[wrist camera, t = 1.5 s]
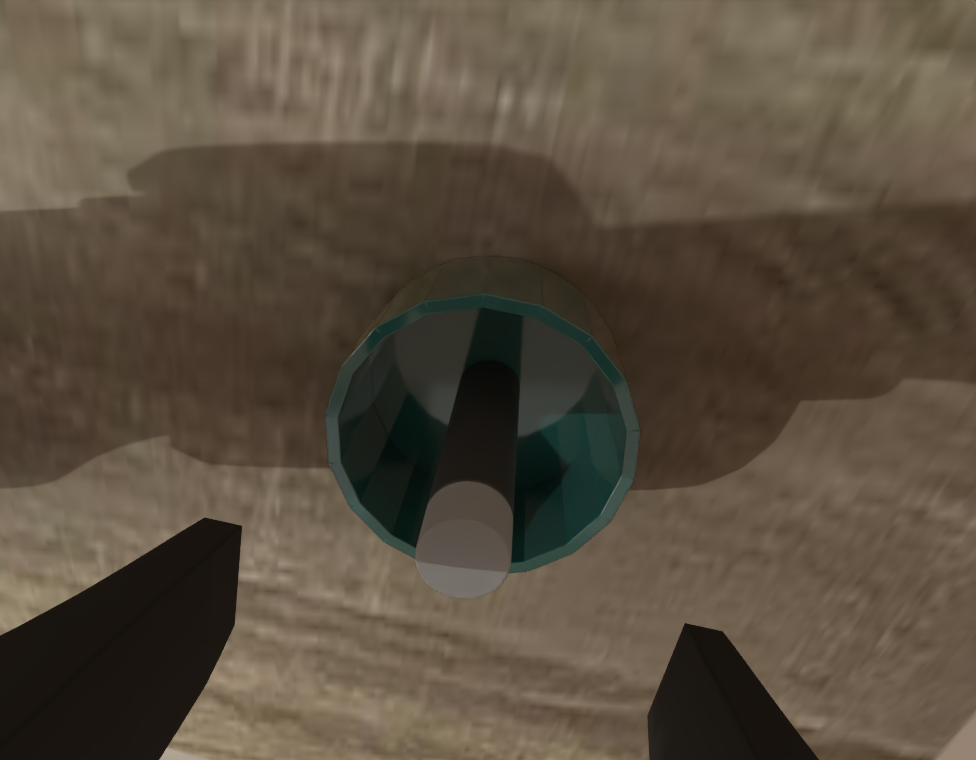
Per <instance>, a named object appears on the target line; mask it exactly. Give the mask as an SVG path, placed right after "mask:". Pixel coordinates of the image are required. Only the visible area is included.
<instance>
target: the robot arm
mask: <svg viewBox="0 0 976 760" xmlns="http://www.w3.org/2000/svg"><path fill="white" fill-rule="evenodd" d="M241 532H242V526H241V525H236V524H232V523H227V522H222V521H218V520H213V519H209V518H203V519H202V520H200V521H198V522H197V523H195V524H193V525H192V526H190V527H188V528H186V529H185V530H183V531H181V532H180V533H178V534H177V535H175V536H173V537H172V538H170V539H169V540H167V541H165V542H164V543H162V544H161V545H159V546H157V547H156V548H154V549H153V550H151V551H149V552H148V553H146V554H144V555H143V556H141V557H140V558H138V559H136V560H135V561H133V562H131V563H130V564H128V565H127V566H125V567H123V568H122V569H120V570H118V571H116V572H115V573H113V574H111V575H110V576H108V577H106V578H105V579H103V580H101V581H100V582H98V583H96V584H95V585H93V586H91V587H90V588H88V589H86V590H84V591H83V592H81V593H79V594H77V595H76V596H74V597H72V598H70V599H68V600H67V601H65V602H63V603H61V604H59V605H57V606H55V607H54V608H52V609H50V610H48V611H46V612H44V613H43V614H41V615H39V616H37V617H35V618H33V619H32V620H30V621H28V622H26V623H24V624H22V625H20V626H19V627H17V628H15V629H13V630H11V631H9V632H7V633H5V634H3V635H1V636H0V760H159V759H160V757H161V756H162V754H163V753H164V751H165V749H166V748H167V746H168V745H169V743H170V742H171V740H172V739H173V737H174V735H175V734H176V732H177V731H178V729H179V727H180V726H181V724H182V723H183V721H184V719H185V718H186V716H187V715H188V713H189V711H190V710H191V708H192V707H193V705H194V703H195V702H196V700H197V698H198V697H199V695H200V694H201V692H202V690H203V689H204V687H205V685H206V684H207V682H208V680H209V678H210V675H211V673H212V671H213V669H214V667H215V665H216V663H217V661H218V659H219V657H220V655H221V653H222V651H223V649H224V646H225V644H226V642H227V640H228V638H229V636H230V634H231V631H232V629H233V627H234V625H235V613H236V599H237V586H238V573H239V559H240V546H241ZM648 738H649V758H650V760H819V759H818V758H817V757H816V755H815V754H814V753H813V751H812V750H811V749H810V748H809V746H808V745H807V744H806V743H805V741H804V740H803V739H802V737H801V736H800V735H799V733H798V732H797V731H796V729H795V728H794V727H793V726H792V724H791V723H790V722H789V720H788V719H787V718H786V716H785V715H784V714H783V712H782V711H781V710H780V708H779V707H778V706H777V704H776V703H775V701H774V700H773V699H772V697H771V696H770V695H769V693H768V692H767V691H766V689H765V688H764V686H763V685H762V684H761V682H760V681H759V680H758V678H757V677H756V676H755V674H754V673H753V671H752V670H751V669H750V667H749V666H748V665H747V663H746V662H745V660H744V659H743V658H742V656H741V655H740V654H739V652H738V651H737V650H736V648H735V647H734V646H733V644H732V643H731V642H730V640H729V639H728V638H727V637H726V635H725V634H724V633H723V631H718V630H714V629H709V628H704V627H700V626H695V625H691V624H686V623H685V624H684V627H683V629H682V632H681V634H680V637H679V639H678V642H677V644H676V647H675V649H674V652H673V654H672V656H671V659H670V661H669V664H668V666H667V669H666V671H665V674H664V676H663V679H662V681H661V684H660V686H659V689H658V691H657V693H656V696H655V698H654V701H653V703H652V706H651V708H650V711H649V713H648Z"/></svg>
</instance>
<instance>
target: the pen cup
mask: <svg viewBox="0 0 976 760" xmlns="http://www.w3.org/2000/svg"><path fill="white" fill-rule="evenodd" d="M483 361H494V362H498V363H501V364H503V365H505V366H507V367H508V368H509V369H511V370H512V371H513V373H514V374H515V375H516V377H517V379H518V382H519V386H520V397H519V417H518V436H517V456H516V475H515V495H514V515H513V534H512V554H511V567H510V571H509V573H519V572H527V571H531V570H534V569H536V568H538V567H541V566H543V565H546V564H548V563H551V562H553V561H556V560H558V559H561V558H563V557H566V556H568V555H571V554H573V552H576V551H577V550H578V549H579V548H581V547H582V546H583V545H584V544H585V543H586V542H588V541H589V540H590V539H591V538H592V537H593V536H595V535H596V534H597V533H598V532H599V531H600V530H602V529H603V528H604V527H605V526H606V525H607V524H609V523H610V521H611V520H612V519H613V517H614V515H615V514H616V512H617V510H618V508H619V506H620V505H621V503H622V501H623V499H624V497H625V495H626V494H627V492H628V490H629V488H630V486H631V485H632V483H633V481H634V478H635V474H636V465H637V457H638V449H639V440H640V432H641V431H640V425H639V421H638V418H637V414H636V411H635V407H634V404H633V400H632V397H631V393H630V390H629V386H628V383H627V379H626V376H625V373H624V370H623V367H622V364H621V361H620V358H619V355H618V351H617V348H616V345H615V342H614V339H613V336H612V333H611V331H610V329H609V328H608V326H607V325H606V323H605V322H604V320H603V318H602V317H601V315H600V313H599V312H598V310H597V309H596V308H595V307H594V305H593V304H592V303H591V302H590V300H589V299H588V298H587V297H586V296H585V295H584V294H583V293H582V292H580V291H579V290H578V289H577V288H576V287H575V286H574V285H572V284H571V283H570V282H568V281H567V280H565V279H564V278H563V277H561V276H559V275H557V274H556V273H554V272H552V271H550V270H548V269H546V268H544V267H541V266H539V265H536V264H533V263H531V262H527V261H523V260H519V259H515V258H509V257H499V256H476V257H469V258H463V259H458V260H454V261H451V262H448V263H444V264H441V265H439V266H437V267H434V268H432V269H430V270H428V271H426V272H424V273H422V274H421V275H419V276H418V277H416V278H415V279H413V280H411V281H410V282H409V283H408V284H407V285H405V286H403V287H402V288H401V289H400V290H399V291H398V292H397V293H396V295H395V296H394V297H393V298H392V299H391V300H390V301H389V302H388V304H387V305H386V306H385V308H384V309H383V310H382V311H381V312H380V313H379V315H378V316H377V317H376V318H375V319H374V321H373V322H372V323H371V325H370V326H369V328H368V329H367V330H366V332H365V333H364V335H363V336H362V337H361V339H360V340H359V342H358V343H357V344H356V346H355V347H354V349H353V350H352V351H351V353H350V354H349V356H348V357H347V358H346V360H345V361H344V362H343V364H342V365H341V367H340V369H339V372H338V375H337V378H336V381H335V384H334V387H333V391H332V394H331V397H330V400H329V403H328V406H327V409H326V412H325V425H326V438H327V451H328V462H329V465H330V467H331V470H332V472H333V474H334V476H335V478H336V480H337V482H338V484H339V486H340V489H341V491H342V493H343V495H344V497H345V499H346V501H347V503H348V505H349V506H350V508H351V509H352V510H353V511H354V512H355V513H356V514H357V515H358V517H359V518H360V519H361V520H362V521H363V522H364V523H365V524H366V525H367V526H368V527H369V528H370V529H371V530H372V531H373V532H374V533H375V534H376V535H377V536H378V537H379V538H380V539H381V540H382V541H383V542H385V543H386V544H388V545H390V546H392V547H394V548H395V549H397V550H399V551H401V552H403V553H405V554H407V555H409V556H410V557H412V558H414V559H415V551H416V546H417V543H418V539H419V535H420V531H421V527H422V523H423V520H424V516H425V512H426V508H427V504H428V501H429V497H430V493H431V489H432V485H433V482H434V478H435V474H436V470H437V466H438V463H439V459H440V455H441V451H442V447H443V443H444V440H445V436H446V432H447V428H448V424H449V421H450V417H451V413H452V409H453V405H454V402H455V398H456V394H457V390H458V386H459V383H460V379H461V377H462V375H463V374H464V372H465V371H466V370H467V369H468V368H469V367H471V366H472V365H474V364H476V363H479V362H483Z"/></svg>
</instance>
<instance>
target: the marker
mask: <svg viewBox="0 0 976 760" xmlns="http://www.w3.org/2000/svg"><path fill="white" fill-rule="evenodd" d="M519 397H520V386H519V382H518V379H517V377H516V375H515V374H514V373H513V371H512V370H511V369H509V368H508V367H507V366H505V365H503V364H501V363H498V362H494V361H483V362H479V363H476V364H474V365H472V366H471V367H469V368H468V369H467V370H466V371H465V372H464V374H463V375H462V377H461V379H460V383H459V386H458V390H457V394H456V398H455V402H454V405H453V409H452V413H451V417H450V421H449V424H448V428H447V432H446V436H445V440H444V443H443V447H442V451H441V455H440V459H439V463H438V466H437V470H436V474H435V478H434V482H433V485H432V489H431V493H430V497H429V501H428V504H427V508H426V512H425V516H424V520H423V523H422V527H421V531H420V535H419V539H418V543H417V546H416V551H415V560H416V565H417V568H418V570H419V573H420V575H421V576H422V578H423V579H424V580H425V581H426V583H427V584H429V585H430V586H431V587H432V588H433V589H435V590H436V591H438V592H440V593H442V594H445V595H447V596H450V597H455V598H462V599H470V598H477V597H481V596H484V595H487V594H489V593H491V592H493V591H494V590H495V589H497V588H498V587H499V586H500V585H501V584H502V583H503V582H504V580H505V579H506V577H507V576H508V573H509V571H510V567H511V554H512V534H513V515H514V495H515V475H516V456H517V436H518V417H519Z"/></svg>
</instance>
